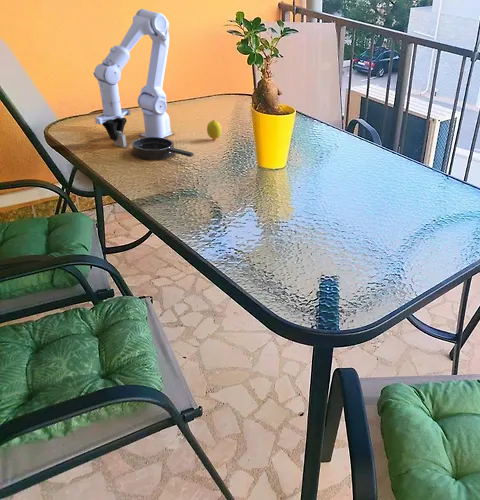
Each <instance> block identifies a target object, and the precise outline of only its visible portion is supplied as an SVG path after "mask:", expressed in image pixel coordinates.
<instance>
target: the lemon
mask: <svg viewBox="0 0 480 500" xmlns="http://www.w3.org/2000/svg"><path fill="white" fill-rule="evenodd" d="M222 130H223V129H222V126H221V124H220V122H219V121H217V120H215V119H213V120H211V121H209V122H208V124H207V125H206V133H207V135H208V137H210V138H211V139H212V140H214V141H216V140H217V139H219V138H220V137H221V135H222V132H223V131H222Z"/></svg>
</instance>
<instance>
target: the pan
mask: <svg viewBox="0 0 480 500" xmlns="http://www.w3.org/2000/svg"><path fill="white" fill-rule="evenodd" d="M131 146H132V154H133V155H134V156H135V157H137V158H139V159H142V160H149V161H151V160H152V161H157V160H165V159H169V158H170V157H173V155H175V153H173V152H169V148H171V147H172V148H175V145H174V141H173V140H171V139H170V138H166V137H164V138H160V137H140V138H137V139H134V140H133V141H132V142H131Z"/></svg>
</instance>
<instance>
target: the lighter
mask: <svg viewBox="0 0 480 500" xmlns="http://www.w3.org/2000/svg"><path fill="white" fill-rule="evenodd" d="M116 133H117V140H116V141H114V140H113V144H114V146H117V147H121V148H126V147H127V146H128V145H127V139H126V134H125V133H123V134H122V132H121V131H116Z"/></svg>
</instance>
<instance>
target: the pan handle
mask: <svg viewBox="0 0 480 500" xmlns="http://www.w3.org/2000/svg"><path fill="white" fill-rule="evenodd" d="M169 152H173V153H174V154H178V155H181V156H186V157H188V158H191V157H193V156H194V155H195V154H194V152H192V151H189V150H188V151H187V150H184V149H180V148H175V147H174V148H172V147H171V148H169Z"/></svg>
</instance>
